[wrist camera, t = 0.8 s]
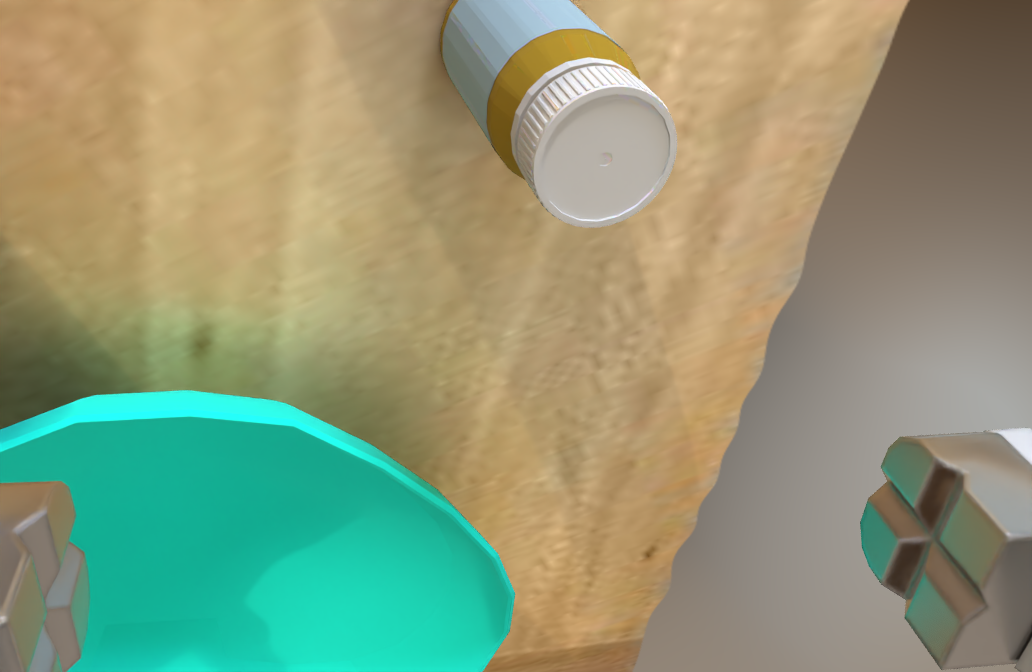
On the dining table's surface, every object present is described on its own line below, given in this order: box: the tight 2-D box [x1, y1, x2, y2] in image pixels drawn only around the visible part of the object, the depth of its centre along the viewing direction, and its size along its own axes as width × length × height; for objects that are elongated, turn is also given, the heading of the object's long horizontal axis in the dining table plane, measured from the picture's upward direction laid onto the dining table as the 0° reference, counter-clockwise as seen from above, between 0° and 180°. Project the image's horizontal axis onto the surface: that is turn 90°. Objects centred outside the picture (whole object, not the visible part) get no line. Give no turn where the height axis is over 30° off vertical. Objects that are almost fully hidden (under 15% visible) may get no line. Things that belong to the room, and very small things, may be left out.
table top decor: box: [0, 390, 515, 672], centre depth 53 cm, size 40×28×13 cm
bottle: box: [440, 0, 677, 228], centre depth 41 cm, size 7×7×15 cm
